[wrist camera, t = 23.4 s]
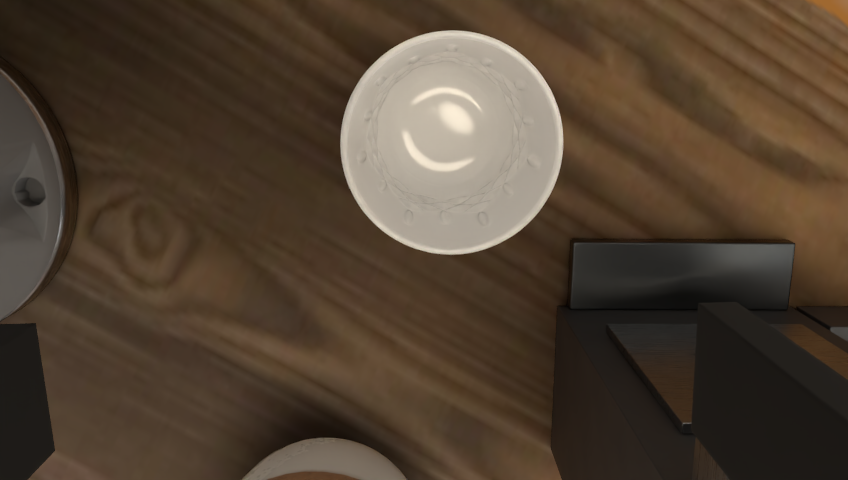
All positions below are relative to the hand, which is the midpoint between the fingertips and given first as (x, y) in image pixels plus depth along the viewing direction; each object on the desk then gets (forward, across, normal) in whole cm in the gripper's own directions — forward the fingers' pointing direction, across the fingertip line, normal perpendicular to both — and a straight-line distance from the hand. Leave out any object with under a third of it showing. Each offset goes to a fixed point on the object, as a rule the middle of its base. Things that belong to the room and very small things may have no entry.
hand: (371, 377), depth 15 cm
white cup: (+22, +2, +3) cm, 23 cm away
